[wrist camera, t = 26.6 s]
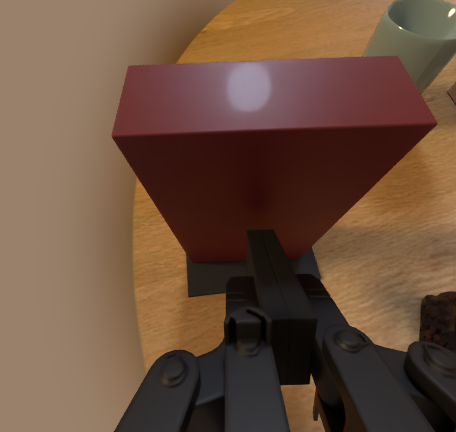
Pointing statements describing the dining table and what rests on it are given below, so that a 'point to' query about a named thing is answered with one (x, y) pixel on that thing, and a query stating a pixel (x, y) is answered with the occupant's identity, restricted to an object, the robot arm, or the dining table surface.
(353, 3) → the dining table surface
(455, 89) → the picture frame
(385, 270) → the dining table surface
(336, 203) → the book
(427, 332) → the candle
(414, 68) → the cup
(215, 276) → the mat
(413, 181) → the dining table surface
